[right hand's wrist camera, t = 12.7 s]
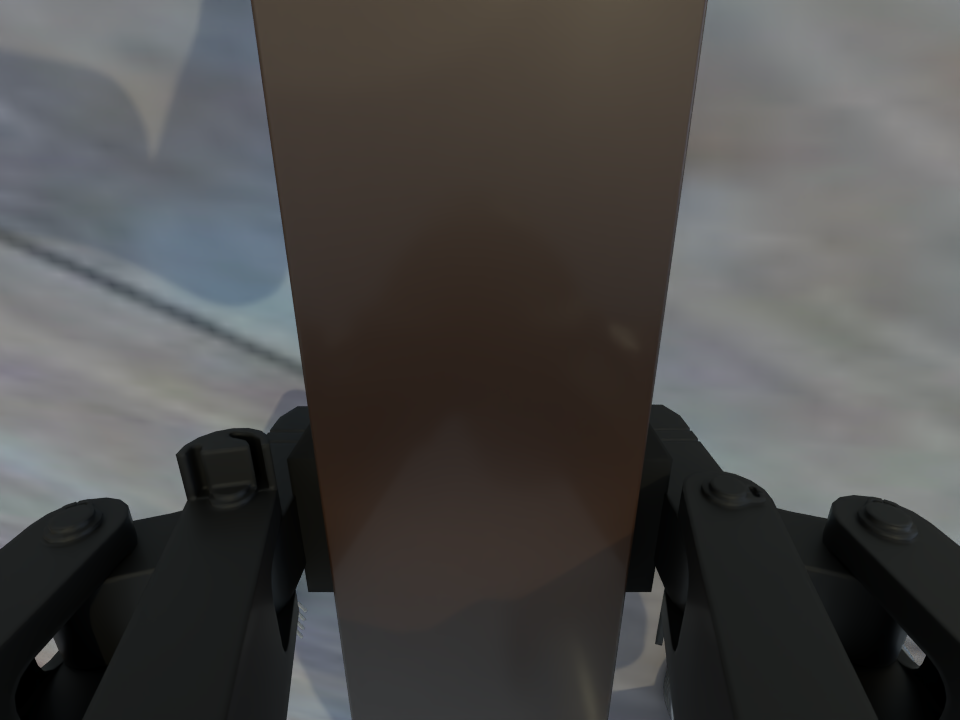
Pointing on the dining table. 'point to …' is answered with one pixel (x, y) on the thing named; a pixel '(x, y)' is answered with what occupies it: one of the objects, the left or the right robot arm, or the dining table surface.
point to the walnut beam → (479, 326)
